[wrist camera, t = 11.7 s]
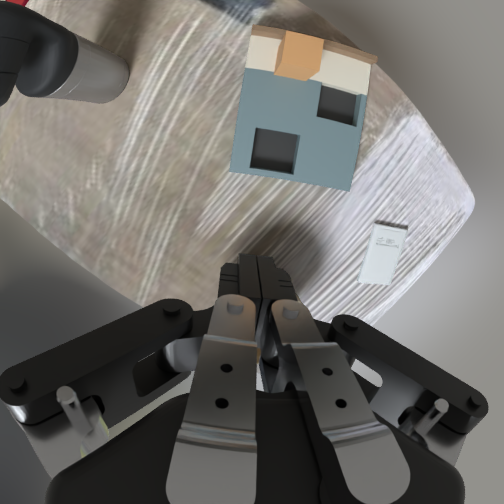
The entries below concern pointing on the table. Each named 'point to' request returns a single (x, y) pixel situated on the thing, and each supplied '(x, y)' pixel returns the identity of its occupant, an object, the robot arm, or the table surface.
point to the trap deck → (301, 114)
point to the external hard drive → (382, 254)
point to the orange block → (298, 56)
